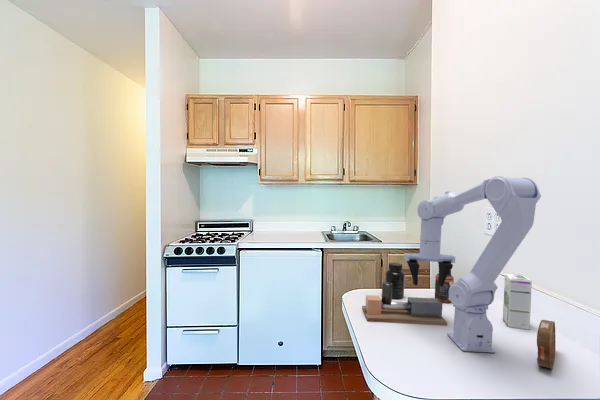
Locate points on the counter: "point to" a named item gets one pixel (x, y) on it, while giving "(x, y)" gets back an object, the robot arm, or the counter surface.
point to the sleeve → (425, 307)
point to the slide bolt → (387, 299)
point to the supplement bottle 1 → (396, 280)
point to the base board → (402, 317)
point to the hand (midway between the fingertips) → (427, 285)
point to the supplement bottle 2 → (443, 288)
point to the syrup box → (517, 301)
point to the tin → (546, 344)
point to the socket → (373, 304)
